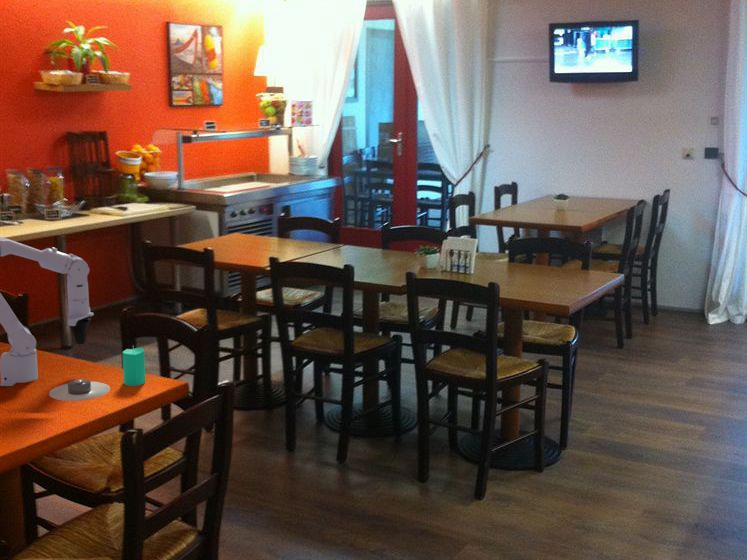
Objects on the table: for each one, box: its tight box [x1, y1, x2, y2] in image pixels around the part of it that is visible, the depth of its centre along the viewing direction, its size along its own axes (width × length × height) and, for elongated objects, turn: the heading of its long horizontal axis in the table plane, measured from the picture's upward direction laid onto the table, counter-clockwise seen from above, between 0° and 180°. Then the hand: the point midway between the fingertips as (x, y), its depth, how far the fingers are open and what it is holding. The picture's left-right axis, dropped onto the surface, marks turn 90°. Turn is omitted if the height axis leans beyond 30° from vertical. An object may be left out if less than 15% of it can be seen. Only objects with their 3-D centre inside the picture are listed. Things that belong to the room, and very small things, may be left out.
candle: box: [122, 346, 146, 387], centre depth 254 cm, size 6×6×12 cm
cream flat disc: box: [48, 381, 111, 402], centre depth 247 cm, size 16×16×1 cm
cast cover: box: [67, 378, 92, 395], centre depth 247 cm, size 6×6×3 cm
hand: (80, 343), depth 263 cm, fingers closed
